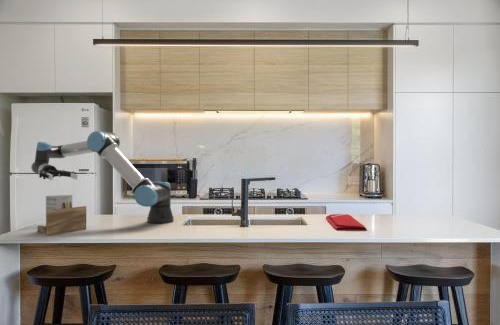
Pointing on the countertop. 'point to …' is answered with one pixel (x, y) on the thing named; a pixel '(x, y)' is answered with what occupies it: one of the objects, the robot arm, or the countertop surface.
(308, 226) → the countertop surface
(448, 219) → the countertop surface
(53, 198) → the supplement box
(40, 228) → the box
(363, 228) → the dish drying mat
